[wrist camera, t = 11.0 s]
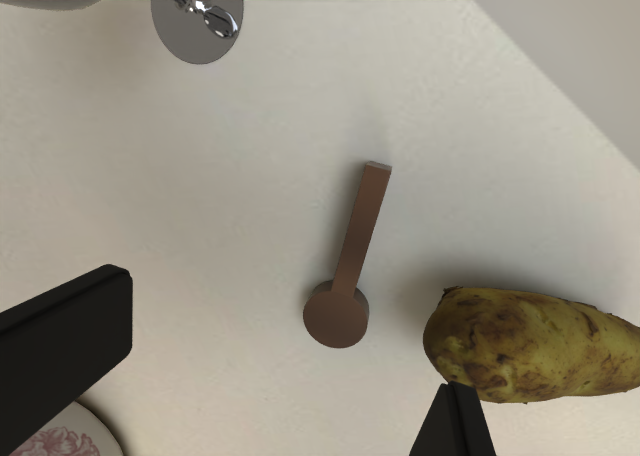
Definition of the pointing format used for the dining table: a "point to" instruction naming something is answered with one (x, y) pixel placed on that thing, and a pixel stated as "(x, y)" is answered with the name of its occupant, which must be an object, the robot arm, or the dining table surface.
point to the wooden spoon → (349, 271)
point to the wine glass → (176, 24)
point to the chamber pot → (71, 436)
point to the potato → (530, 346)
